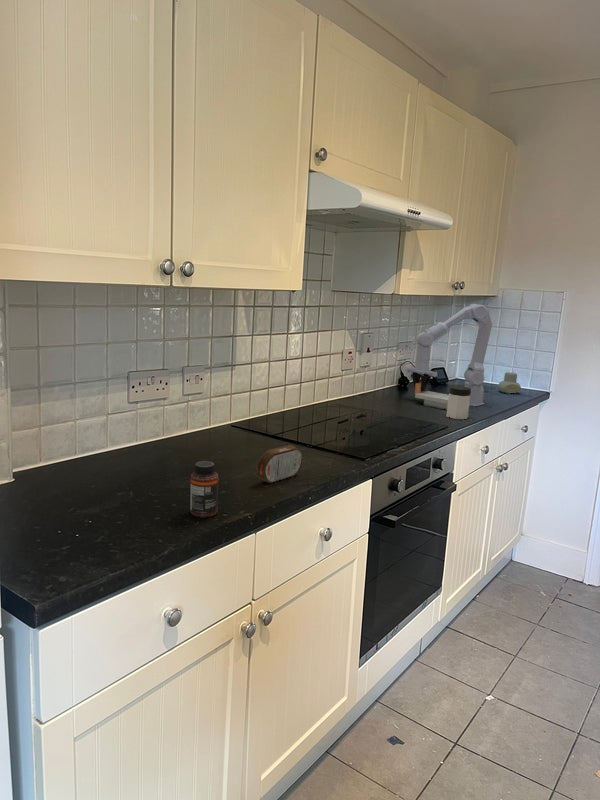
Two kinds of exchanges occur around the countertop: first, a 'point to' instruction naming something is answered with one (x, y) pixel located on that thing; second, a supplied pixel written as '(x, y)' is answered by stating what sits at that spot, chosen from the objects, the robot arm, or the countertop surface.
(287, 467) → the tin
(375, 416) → the countertop surface
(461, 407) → the jar
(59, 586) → the countertop surface
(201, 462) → the supplement bottle
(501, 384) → the air freshener
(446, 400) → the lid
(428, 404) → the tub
